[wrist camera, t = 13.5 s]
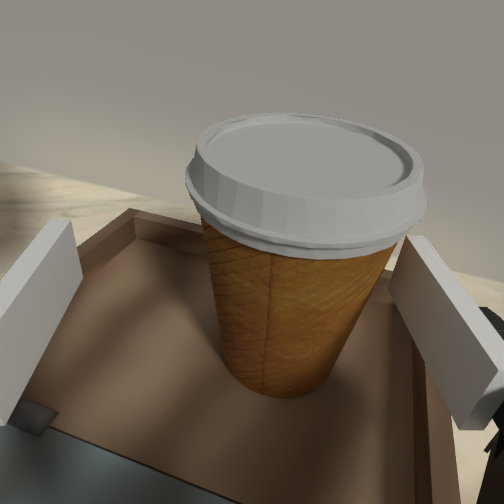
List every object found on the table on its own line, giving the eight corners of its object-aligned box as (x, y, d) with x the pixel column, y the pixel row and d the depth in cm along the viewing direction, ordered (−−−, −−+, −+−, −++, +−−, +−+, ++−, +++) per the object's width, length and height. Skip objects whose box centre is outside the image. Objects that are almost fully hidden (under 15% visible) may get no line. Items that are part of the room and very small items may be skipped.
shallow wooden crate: (-214, 568, 14) (-292, 522, 12) (134, 249, 33) (129, 208, 30) (441, 973, 9) (518, 1024, 7) (417, 325, 28) (436, 281, 25)
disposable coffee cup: (272, 274, 27) (292, 98, 20) (394, 354, 22) (478, 155, 15) (158, 345, 22) (132, 136, 15) (286, 474, 17) (341, 248, 9)
